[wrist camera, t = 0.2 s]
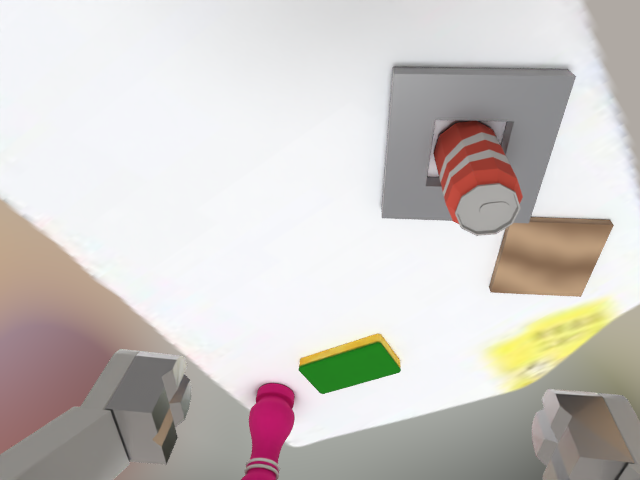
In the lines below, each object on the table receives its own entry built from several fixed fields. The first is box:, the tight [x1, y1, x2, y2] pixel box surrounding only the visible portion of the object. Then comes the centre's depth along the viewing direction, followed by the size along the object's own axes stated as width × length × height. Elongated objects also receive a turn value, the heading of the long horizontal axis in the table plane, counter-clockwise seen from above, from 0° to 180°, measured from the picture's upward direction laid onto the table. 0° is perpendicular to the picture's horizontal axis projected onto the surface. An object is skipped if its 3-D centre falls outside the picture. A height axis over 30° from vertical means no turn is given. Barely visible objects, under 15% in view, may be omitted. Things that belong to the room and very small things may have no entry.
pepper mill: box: [241, 383, 294, 480], centre depth 70 cm, size 7×7×20 cm
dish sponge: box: [299, 334, 401, 394], centre depth 70 cm, size 7×14×2 cm, turn 121°
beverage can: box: [434, 121, 523, 236], centre depth 44 cm, size 6×6×12 cm
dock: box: [382, 67, 576, 223], centre depth 48 cm, size 16×16×2 cm
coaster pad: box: [489, 217, 613, 297], centre depth 56 cm, size 11×11×1 cm
